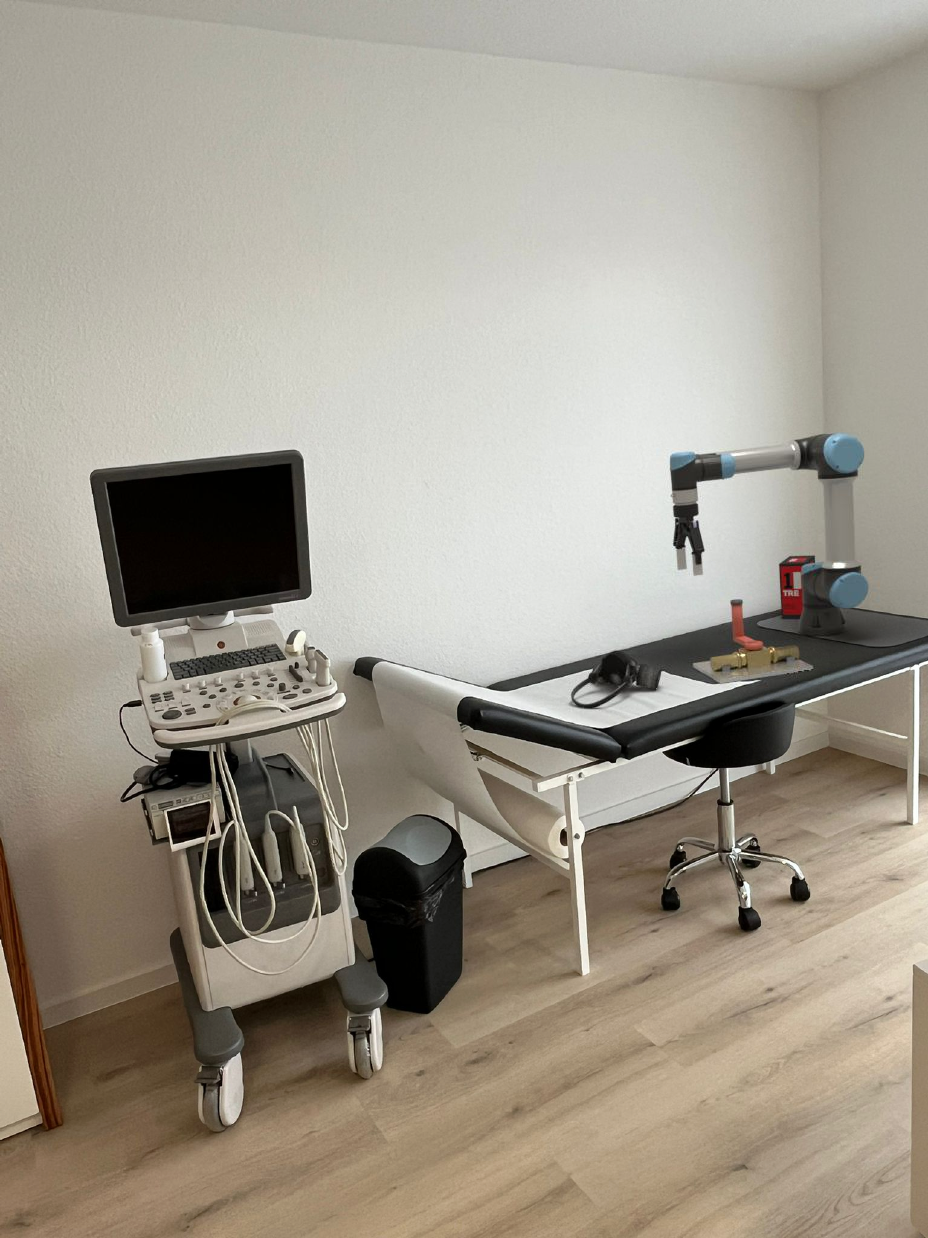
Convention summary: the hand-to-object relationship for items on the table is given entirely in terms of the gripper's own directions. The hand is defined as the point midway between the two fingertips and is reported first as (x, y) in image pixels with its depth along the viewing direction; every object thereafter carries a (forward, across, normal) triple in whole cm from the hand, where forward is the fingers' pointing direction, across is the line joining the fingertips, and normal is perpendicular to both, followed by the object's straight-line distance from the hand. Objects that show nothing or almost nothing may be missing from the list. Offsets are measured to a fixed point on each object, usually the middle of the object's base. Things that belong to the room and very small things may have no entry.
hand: (690, 572), depth 301 cm
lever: (+22, +13, +11) cm, 28 cm away
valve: (+28, +18, +10) cm, 35 cm away
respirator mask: (+28, +24, -35) cm, 51 cm away
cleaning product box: (+28, -41, +55) cm, 75 cm away
